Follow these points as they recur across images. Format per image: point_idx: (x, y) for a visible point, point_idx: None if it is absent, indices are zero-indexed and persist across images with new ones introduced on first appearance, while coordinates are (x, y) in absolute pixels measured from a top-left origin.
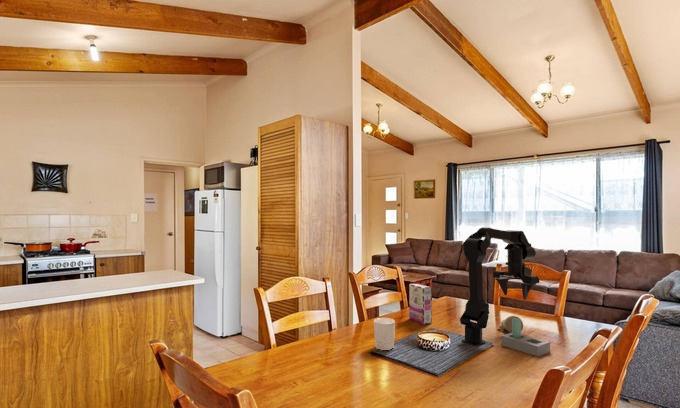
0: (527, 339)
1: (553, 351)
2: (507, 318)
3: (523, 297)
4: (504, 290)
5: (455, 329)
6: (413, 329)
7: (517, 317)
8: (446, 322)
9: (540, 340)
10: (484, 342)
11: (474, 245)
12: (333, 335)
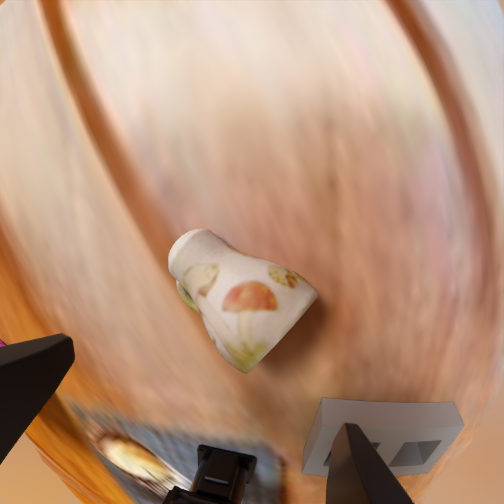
0: (393, 455)
1: (463, 390)
2: (232, 365)
3: (334, 469)
4: (40, 401)
5: (106, 391)
6: (73, 433)
7: (282, 336)
8: (42, 335)
9: (435, 436)
10: (254, 461)
11: None
12: (72, 486)
